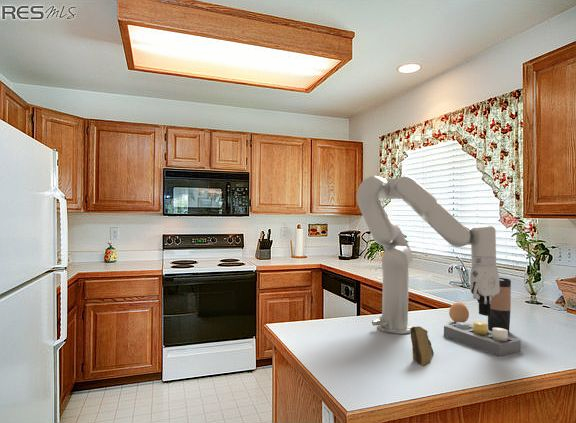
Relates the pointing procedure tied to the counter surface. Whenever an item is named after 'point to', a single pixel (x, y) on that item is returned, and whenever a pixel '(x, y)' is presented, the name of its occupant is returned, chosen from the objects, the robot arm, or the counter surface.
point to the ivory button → (500, 334)
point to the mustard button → (480, 328)
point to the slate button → (462, 325)
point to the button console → (482, 340)
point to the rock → (421, 345)
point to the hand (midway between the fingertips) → (484, 314)
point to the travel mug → (501, 306)
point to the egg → (459, 312)
